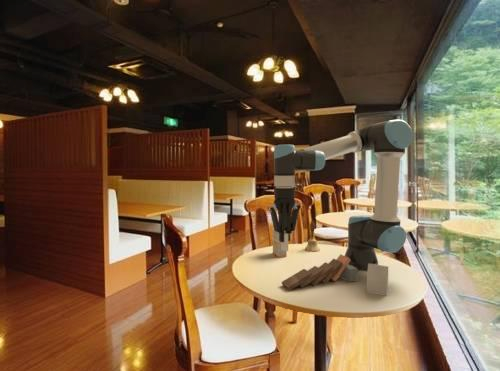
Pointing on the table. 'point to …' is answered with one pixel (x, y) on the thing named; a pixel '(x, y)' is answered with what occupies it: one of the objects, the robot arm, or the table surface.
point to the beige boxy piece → (377, 279)
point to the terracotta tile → (345, 262)
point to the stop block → (349, 273)
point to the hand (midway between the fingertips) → (284, 250)
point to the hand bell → (312, 240)
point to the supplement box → (277, 245)
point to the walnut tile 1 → (297, 279)
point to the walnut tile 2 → (315, 273)
